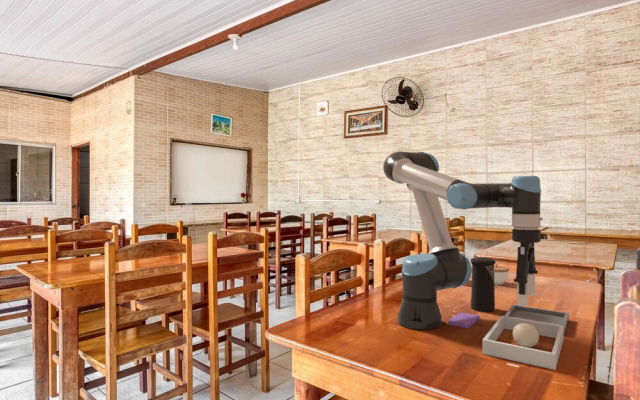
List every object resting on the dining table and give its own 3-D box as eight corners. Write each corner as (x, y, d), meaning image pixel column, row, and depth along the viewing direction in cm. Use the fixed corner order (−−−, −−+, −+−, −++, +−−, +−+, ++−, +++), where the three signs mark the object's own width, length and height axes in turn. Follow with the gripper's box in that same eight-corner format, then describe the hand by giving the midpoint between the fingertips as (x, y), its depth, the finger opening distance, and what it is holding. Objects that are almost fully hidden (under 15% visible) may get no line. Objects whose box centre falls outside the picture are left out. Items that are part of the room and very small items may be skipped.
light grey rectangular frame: (555, 370, 104) (555, 354, 103) (482, 353, 114) (482, 339, 114) (563, 338, 125) (563, 325, 125) (501, 327, 135) (501, 315, 135)
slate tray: (564, 335, 127) (564, 327, 127) (503, 324, 138) (503, 317, 138) (568, 320, 142) (568, 313, 142) (512, 311, 152) (512, 304, 152)
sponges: (447, 325, 138) (447, 320, 138) (460, 316, 148) (460, 311, 148) (468, 330, 134) (468, 324, 134) (480, 320, 144) (480, 315, 144)
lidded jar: (479, 282, 199) (479, 263, 198) (495, 280, 203) (495, 261, 203) (497, 287, 189) (497, 267, 188) (513, 284, 193) (513, 265, 193)
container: (497, 312, 150) (497, 259, 150) (472, 311, 152) (472, 259, 152) (492, 306, 159) (492, 255, 158) (468, 305, 161) (468, 255, 160)
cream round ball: (529, 341, 123) (529, 319, 123) (543, 350, 116) (543, 327, 116) (507, 341, 123) (507, 319, 123) (520, 351, 116) (520, 328, 115)
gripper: (534, 232, 106) (534, 312, 106) (545, 225, 126) (545, 292, 127) (503, 231, 110) (504, 308, 111) (519, 224, 131) (519, 289, 131)
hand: (526, 300), depth 119 cm, fingers open, 13 cm apart
